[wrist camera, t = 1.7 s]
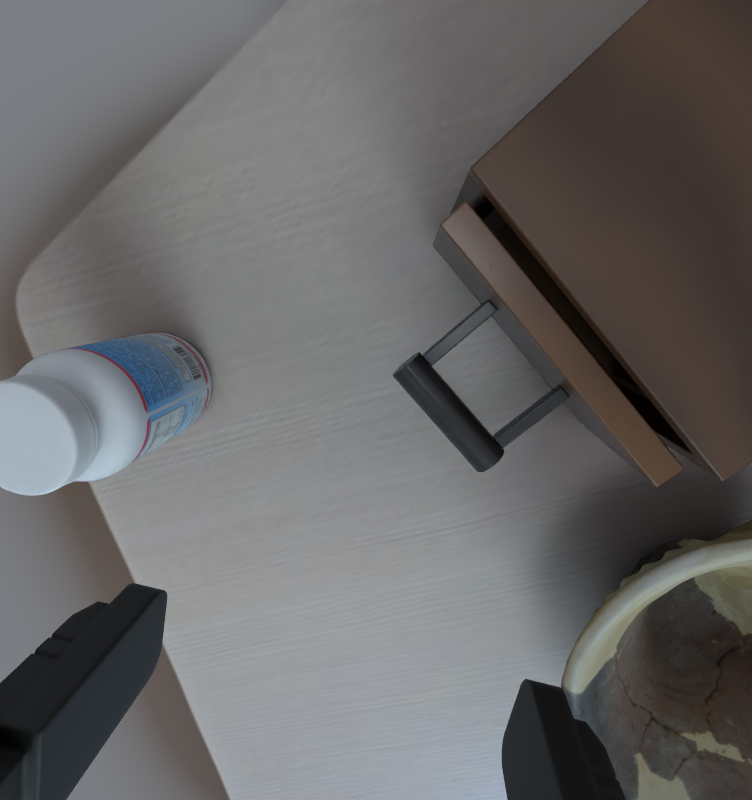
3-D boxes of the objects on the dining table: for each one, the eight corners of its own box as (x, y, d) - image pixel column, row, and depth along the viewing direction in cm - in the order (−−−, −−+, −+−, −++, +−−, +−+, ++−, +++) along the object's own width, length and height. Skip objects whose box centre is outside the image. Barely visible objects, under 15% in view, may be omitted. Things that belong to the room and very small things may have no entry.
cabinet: (606, 407, 27) (723, 482, 17) (449, 215, 26) (469, 167, 15) (897, 191, 24) (1275, 117, 13) (735, -48, 22) (1020, -349, 12)
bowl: (652, 393, 27) (775, 450, 18) (907, 561, 28) (1151, 698, 19) (470, 617, 31) (492, 757, 22) (697, 755, 32) (809, 946, 23)
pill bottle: (109, 334, 29) (-79, 365, 18) (207, 328, 28) (74, 355, 17) (128, 432, 30) (-36, 515, 19) (222, 427, 30) (107, 511, 19)
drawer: (503, 479, 28) (541, 567, 19) (357, 313, 26) (327, 327, 18) (850, 221, 23) (1103, 184, 15) (698, 3, 22) (880, -181, 13)
